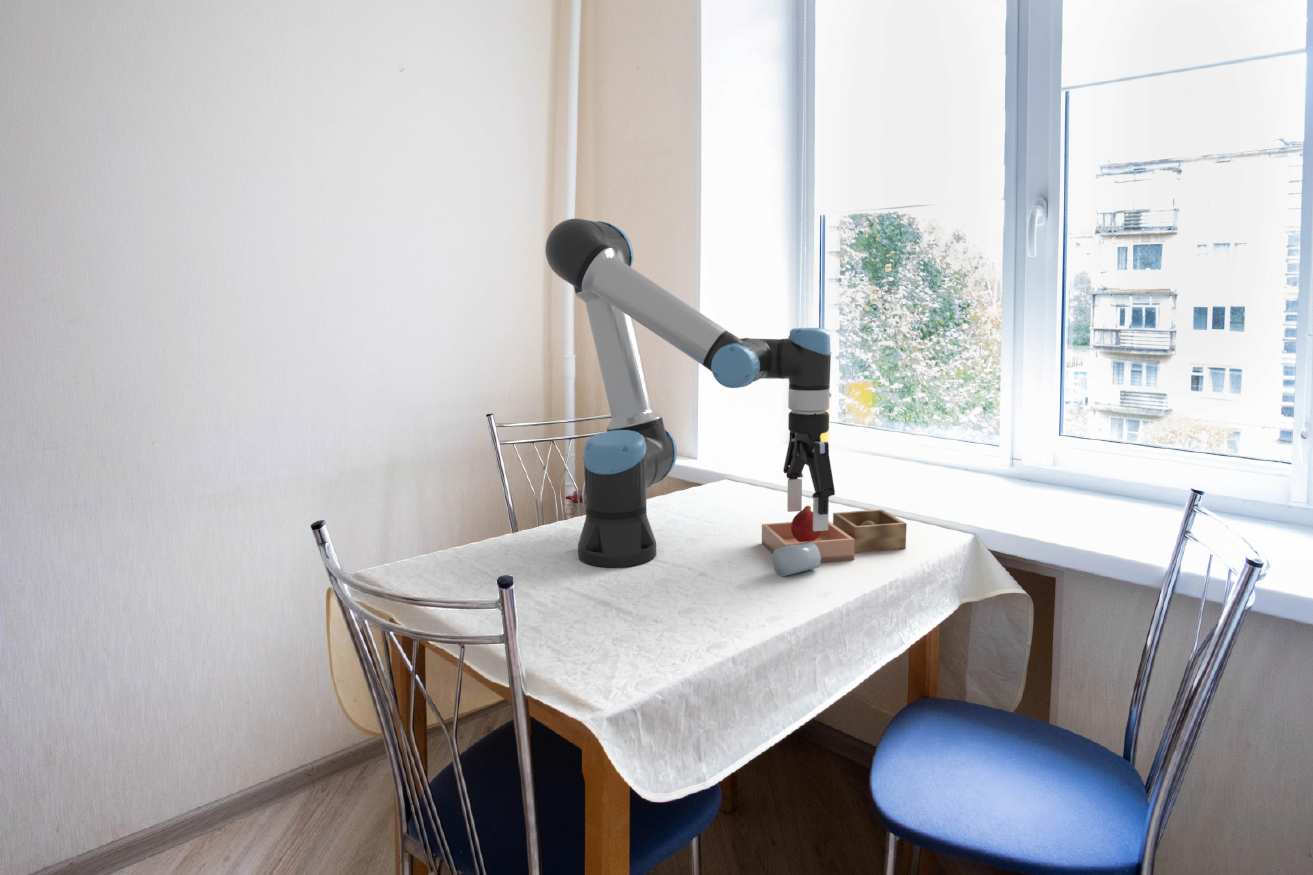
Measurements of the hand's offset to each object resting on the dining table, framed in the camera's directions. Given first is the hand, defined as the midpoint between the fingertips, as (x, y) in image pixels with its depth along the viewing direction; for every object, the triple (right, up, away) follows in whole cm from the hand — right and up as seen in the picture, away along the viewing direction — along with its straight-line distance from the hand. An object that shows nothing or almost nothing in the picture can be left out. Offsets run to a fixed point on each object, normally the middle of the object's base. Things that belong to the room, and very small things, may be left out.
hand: (806, 520), depth 157 cm
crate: (+13, -5, +6) cm, 16 cm away
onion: (0, -5, +1) cm, 5 cm away
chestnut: (+13, -5, +6) cm, 16 cm away
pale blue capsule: (-4, -8, -10) cm, 14 cm away
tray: (0, -6, +1) cm, 6 cm away
